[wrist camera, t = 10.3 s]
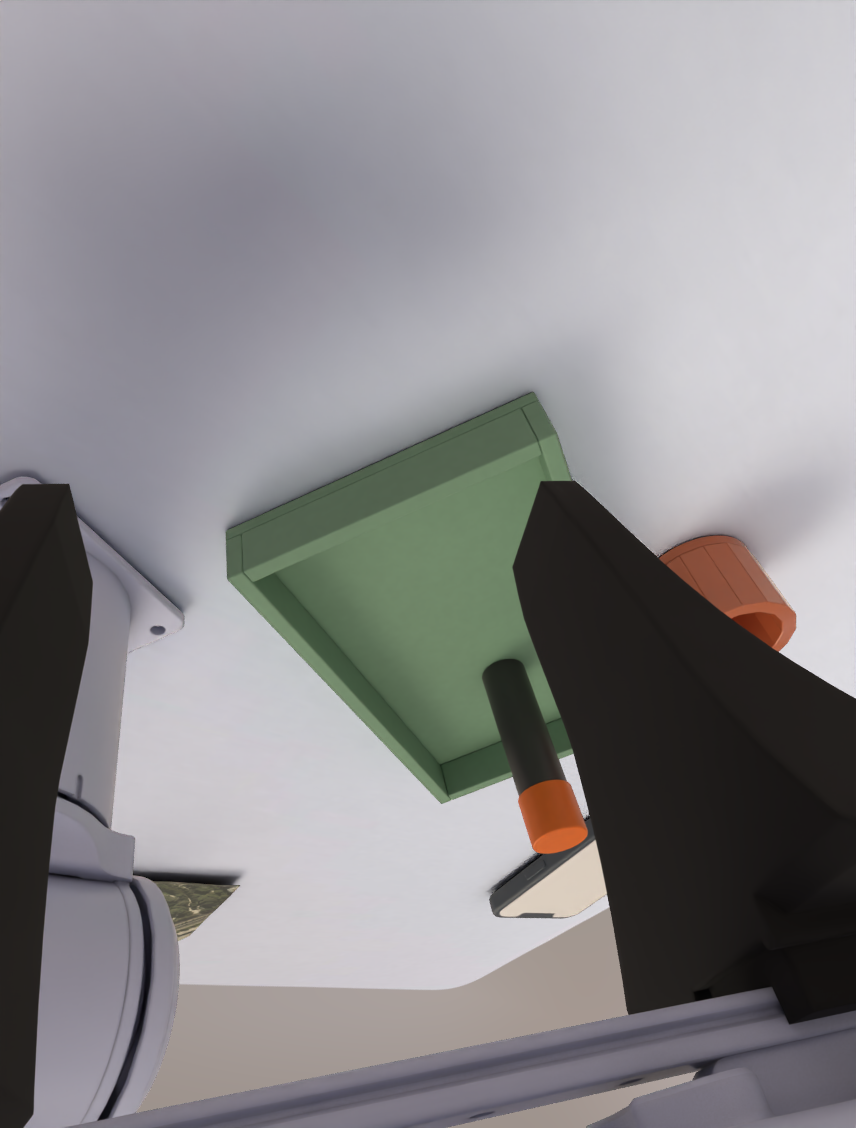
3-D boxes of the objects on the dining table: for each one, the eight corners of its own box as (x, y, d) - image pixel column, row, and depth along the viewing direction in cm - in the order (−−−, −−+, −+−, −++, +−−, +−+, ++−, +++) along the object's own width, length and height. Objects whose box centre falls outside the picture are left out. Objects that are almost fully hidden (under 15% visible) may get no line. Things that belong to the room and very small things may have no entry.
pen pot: (643, 632, 34) (679, 699, 32) (625, 566, 31) (663, 636, 28) (751, 589, 34) (796, 654, 31) (746, 516, 30) (797, 584, 27)
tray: (431, 764, 39) (441, 804, 38) (224, 530, 25) (225, 579, 23) (631, 686, 38) (650, 724, 36) (533, 390, 23) (557, 432, 22)
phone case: (624, 782, 46) (479, 896, 54) (635, 805, 45) (485, 918, 53) (711, 795, 51) (565, 899, 59) (723, 817, 50) (572, 920, 58)
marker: (487, 692, 34) (540, 859, 29) (472, 669, 33) (526, 841, 27) (531, 674, 34) (593, 840, 29) (518, 650, 33) (581, 821, 27)
